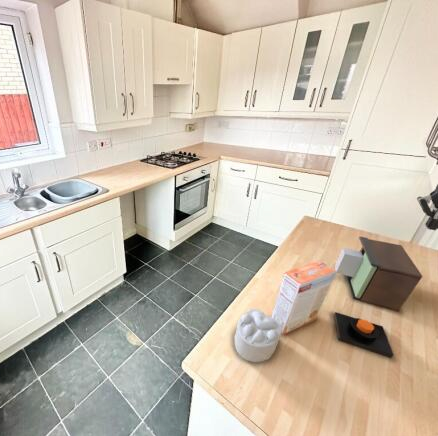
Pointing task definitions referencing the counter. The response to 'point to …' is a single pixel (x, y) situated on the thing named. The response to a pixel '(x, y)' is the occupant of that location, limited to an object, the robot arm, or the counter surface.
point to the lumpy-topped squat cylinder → (257, 336)
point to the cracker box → (302, 295)
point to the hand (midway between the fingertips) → (430, 228)
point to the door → (355, 269)
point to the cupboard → (387, 275)
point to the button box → (362, 335)
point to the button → (365, 326)
